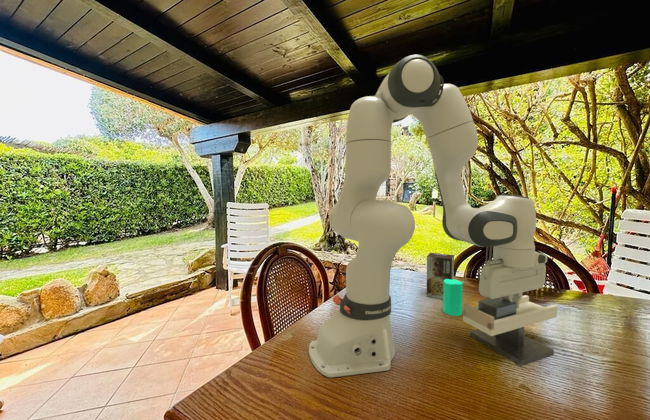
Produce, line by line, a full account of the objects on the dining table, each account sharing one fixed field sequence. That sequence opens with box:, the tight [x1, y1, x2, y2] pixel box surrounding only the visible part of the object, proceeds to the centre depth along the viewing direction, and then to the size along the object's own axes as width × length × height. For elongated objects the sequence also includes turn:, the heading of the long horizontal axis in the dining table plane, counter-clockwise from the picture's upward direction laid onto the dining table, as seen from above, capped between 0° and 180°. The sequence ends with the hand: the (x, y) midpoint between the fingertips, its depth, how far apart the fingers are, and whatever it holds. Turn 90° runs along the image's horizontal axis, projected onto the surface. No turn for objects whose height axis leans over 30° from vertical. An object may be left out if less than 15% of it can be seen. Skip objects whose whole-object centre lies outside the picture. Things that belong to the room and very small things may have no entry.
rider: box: [477, 297, 517, 320], centre depth 68 cm, size 7×5×4 cm
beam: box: [462, 294, 558, 336], centre depth 70 cm, size 24×8×4 cm, turn 110°
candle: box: [442, 276, 464, 317], centre depth 90 cm, size 6×6×12 cm
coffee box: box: [426, 252, 455, 300], centre depth 103 cm, size 9×6×16 cm
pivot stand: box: [469, 327, 555, 367], centre depth 71 cm, size 12×14×6 cm
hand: (511, 308), depth 70 cm, fingers closed
